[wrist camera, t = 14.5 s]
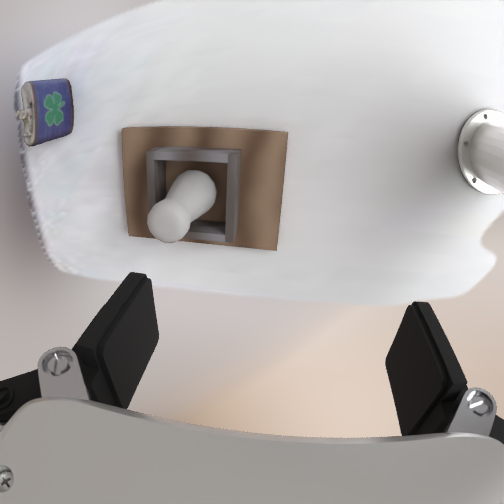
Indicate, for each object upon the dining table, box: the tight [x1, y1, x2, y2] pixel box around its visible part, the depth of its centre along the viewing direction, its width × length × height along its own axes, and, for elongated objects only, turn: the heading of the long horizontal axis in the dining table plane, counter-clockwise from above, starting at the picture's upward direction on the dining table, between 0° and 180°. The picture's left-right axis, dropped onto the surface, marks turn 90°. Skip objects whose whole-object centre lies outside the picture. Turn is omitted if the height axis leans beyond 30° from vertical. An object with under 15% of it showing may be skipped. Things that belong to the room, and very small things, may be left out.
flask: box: [16, 79, 74, 147], centre depth 34 cm, size 9×3×11 cm, turn 179°
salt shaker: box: [147, 170, 217, 243], centre depth 35 cm, size 6×6×13 cm
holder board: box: [122, 126, 288, 251], centre depth 40 cm, size 22×16×6 cm
